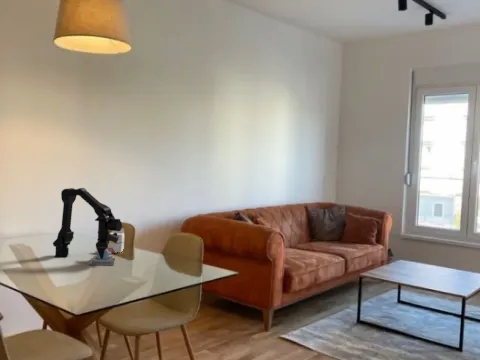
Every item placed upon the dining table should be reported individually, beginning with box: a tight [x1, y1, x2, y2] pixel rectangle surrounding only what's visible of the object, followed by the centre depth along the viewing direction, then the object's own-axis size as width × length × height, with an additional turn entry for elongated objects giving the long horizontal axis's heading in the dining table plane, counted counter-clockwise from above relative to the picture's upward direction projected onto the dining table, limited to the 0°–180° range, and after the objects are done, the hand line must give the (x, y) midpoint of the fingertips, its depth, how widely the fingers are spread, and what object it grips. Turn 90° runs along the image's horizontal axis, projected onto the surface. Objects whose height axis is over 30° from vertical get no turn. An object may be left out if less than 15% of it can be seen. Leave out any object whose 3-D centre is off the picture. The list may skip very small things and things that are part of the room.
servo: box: [93, 248, 112, 259], centre depth 282 cm, size 9×4×6 cm, turn 101°
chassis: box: [88, 255, 116, 266], centre depth 282 cm, size 13×13×2 cm
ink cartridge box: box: [107, 227, 125, 254], centre depth 308 cm, size 9×5×15 cm, turn 84°
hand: (102, 256), depth 282 cm, fingers open, 9 cm apart
